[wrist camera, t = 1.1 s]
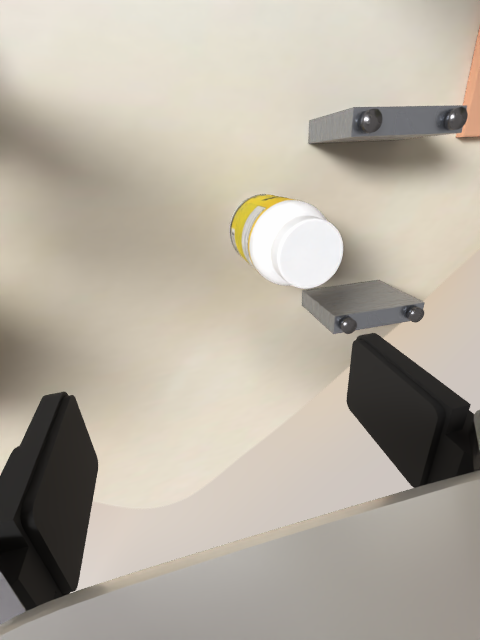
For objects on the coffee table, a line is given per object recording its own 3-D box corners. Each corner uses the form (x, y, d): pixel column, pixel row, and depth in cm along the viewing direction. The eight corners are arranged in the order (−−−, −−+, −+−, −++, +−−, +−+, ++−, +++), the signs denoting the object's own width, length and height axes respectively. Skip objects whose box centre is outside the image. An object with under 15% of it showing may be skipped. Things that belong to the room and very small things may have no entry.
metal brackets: (309, 120, 24) (359, 105, 18) (402, 118, 26) (475, 103, 20) (302, 305, 31) (337, 337, 25) (376, 294, 32) (426, 322, 27)
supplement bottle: (302, 212, 27) (373, 234, 18) (270, 270, 28) (322, 315, 20) (247, 179, 25) (298, 185, 16) (216, 243, 26) (248, 280, 18)
